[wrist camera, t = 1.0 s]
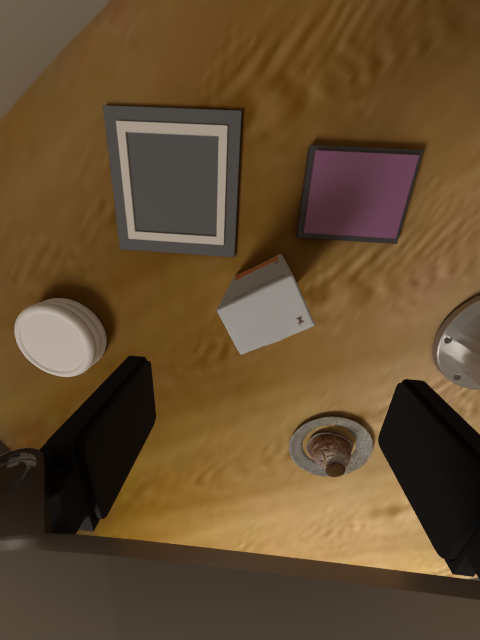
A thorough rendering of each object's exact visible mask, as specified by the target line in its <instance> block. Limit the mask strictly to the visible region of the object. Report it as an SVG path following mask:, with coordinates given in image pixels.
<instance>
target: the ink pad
mask: <svg viewBox="0 0 480 640" xmlns="http://www.w3.org/2000/svg"><path fill="white" fill-rule="evenodd" d="M423 151H424V150H407V149H386V148H364V147H342V146H320V145H310V146H309V148H308V154H307V161H306V168H305V176H304V183H303V190H302V198H301V205H300V213H299V220H298V227H297V235H296V237H299V238H315V239H330V240H346V241H361V242H377V243H392V244H397V242H398V238H399V235H400V231H401V228H402V224H403V221H404V217H405V214H406V210H407V207H408V203H409V200H410V196H411V193H412V189H413V186H414V182H415V179H416V175H417V172H418V168H419V165H420V161H421V158H422V154H423Z"/></svg>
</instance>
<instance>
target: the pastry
mask: <svg viewBox="0 0 480 640" xmlns="http://www.w3.org/2000/svg"><path fill="white" fill-rule="evenodd" d="M323 425H338V426H342V427H344V428H346V429H348V430H349V431H350V432H352V433H353V435H354V436H355V438H356V449H355V451H354V452H353V454H352V455H351V452H352V447H353V446H352V443H351V441H350V440H348V439H346V438H345V437H343V436H341V435H338V434H333V433H327V432H325V433H319V434H316V435H314V436H313V437H312V438H310V440H309V442H308V444H307V451H308V453H309V455H310V456H311V457H312V458H313V460H312V459H310V458H309V457H308V456H307V455H306V454H305V452H304V451H303V447H302V444H303V440H304V438H305V436H306V435H307V434H308V433H309V432H310V431H311V430H313V429H315V428H317V427H320V426H323ZM372 449H373V440H372V437H371V435H370V433H369V432H368V431H367V430H366V429H365V428H364V427H363V426H362V425H361V424H359V423H358V422H356V421H353V420H351V419H348V418H344V417H334V416H329V417H322V418H318V419H315V420H312V421H310V422H307V423H305V424H304V425H302V426H301V427H300V428H298V430H297V431H296V432H295V433H294V434H293V436H292V438H291V440H290V444H289V452H290V456H291V458H292V460H293V461H294V462H295V463H296V464H297V465H298V466H299V467H300V468H302V469H303V470H305V471H307V472H310V473H312V474H315V475H319V476H331V477H338V476H341V475H344V474H346V473H350V472H352V471H355V470H357V469H358V468H360V467H361V466H362V465H364V464H365V462H366V461H367V460H368V458H369V457H370V455H371V453H372Z"/></svg>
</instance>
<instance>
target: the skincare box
mask: <svg viewBox="0 0 480 640" xmlns="http://www.w3.org/2000/svg"><path fill="white" fill-rule="evenodd" d="M217 312H218V314H219V316H220V318H221V320H222V321H223V323H224V325H225V327H226V329H227V331H228V333H229V335H230V337H231V338H232V340H233V342H234V344H235V346H236V348H237V350H238V351H239V353H240V354H245V353H247V352H250V351H252V350H255V349H258V348H260V347H263V346H265V345H269V344H272V343H275V342H278V341H280V340H282V339H284V338H286V337H289V336H291V335H294V334H296V333H298V332H301V331H303V330H306V329H308V328H311V327H313V326H315V323H314V320H313V318H312V316H311V314H310V311H309V309H308V307H307V305H306V302H305V300H304V298H303V296H302V293H301V291H300V289H299V287H298V284H297V282H296V280H295V278H294V276H293V274H292V272H291V270H290V268H289V266H288V265H287V263H286V261H285V259H284V257H283V256H282V254H279V255H277V256H275V257H273V258H271V259H269V260H267V261H265V262H263V263H261V264H259V265H257V266H255V267H253V268H250V269H248V270H246V271H244V272H242V273H240V274H237V275H235V276H234V278H233V280H232V282H231V284H230V286H229V287H228V289H227V291H226V293H225V295H224V297H223V299H222V301H221V303H220V305H219V306H218V308H217Z"/></svg>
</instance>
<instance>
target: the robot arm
mask: <svg viewBox="0 0 480 640" xmlns="http://www.w3.org/2000/svg"><path fill="white" fill-rule="evenodd" d="M433 358H434V362H435V365H436V366H437V368H438V370H439V371H440V372H441V373H442V374H443V375H444V376H445V377H446V378H447V379H449V380H450V381H451V382H453V383H455V384H457V385H459V386H461V387H465V388H469V389H478V390H480V295H479V296H477V297H474V298H473V299H471V300H469V301H467V302H466V303H464V304H463V305H461V306H460V307H459V308H457V309H456V310H455V311H454V312H453V313H452V314H451V315H450V316H449V317H448V318H447V319H446V320H445V321H444V323H443V324H442V326H441V327H440V329H439V331H438V333H437V335H436V337H435V340H434V345H433ZM155 419H156V411H155V401H154V390H153V380H152V369H151V362H150V361H147V359H146V358H145V357H140V356H129V357H127V358H126V359H125V361H124V362H123V363H122V364H121V365H120V366H119V367H118V368H117V369H116V370H115V371H114V372H113V373H112V374H111V375H110V376H109V377H108V378H107V379H106V380H105V381H104V382H103V383H102V384H101V385H100V386H99V388H98V389H97V390H96V391H95V392H94V393H93V394H92V395H91V396H90V397H89V398H88V399H87V400H86V401H85V402H84V403H83V404H82V405H81V406H80V407H79V408H78V409H77V410H76V411H75V412H74V413H73V415H72V416H71V417H70V418H69V419H68V420H67V421H66V422H65V423H64V424H63V425H62V426H61V427H60V428H59V429H58V430H57V431H56V432H55V433H54V434H53V435H52V436H51V437H50V438H49V439H48V440H47V442H46V443H45V445H44V446H43V447H42V448H41V449H40V450H38V449H35V448H21V449H17V450H13V451H10V452H8V453H6V454H3V455H1V456H0V640H480V581H477V580H469V579H461V578H453V577H445V576H437V575H429V574H421V573H413V572H406V571H398V570H390V569H382V568H374V567H366V566H357V565H349V564H341V563H332V562H324V561H316V560H307V559H299V558H290V557H282V556H274V555H265V554H257V553H248V552H240V551H231V550H222V549H213V548H204V547H196V546H187V545H178V544H169V543H160V542H151V541H143V540H132V539H121V538H111V537H100V536H89V535H78V534H76V533H77V531H78V530H85V531H94V530H95V528H96V526H97V524H98V522H99V520H100V519H104V518H105V517H106V516H107V515H108V513H109V511H110V509H111V507H112V505H113V503H114V501H115V499H116V498H117V496H118V494H119V492H120V490H121V488H122V486H123V484H124V482H125V480H126V478H127V476H128V474H129V472H130V470H131V468H132V466H133V464H134V463H135V461H136V459H137V457H138V455H139V453H140V451H141V449H142V447H143V445H144V443H145V441H146V439H147V437H148V435H149V433H150V431H151V429H152V428H153V426H154V423H155ZM378 442H379V446H380V448H381V450H382V452H383V454H384V456H385V458H386V459H387V461H388V463H389V465H390V467H391V469H392V471H393V472H394V474H395V476H396V478H397V480H398V482H399V484H400V485H401V487H402V489H403V491H404V493H405V495H406V497H407V498H408V500H409V502H410V504H411V506H412V508H413V510H414V511H415V513H416V515H417V517H418V519H419V521H420V523H421V525H422V526H423V528H424V530H425V532H426V534H427V536H428V538H429V539H430V541H431V543H432V545H433V547H434V549H435V550H436V552H437V554H438V555H439V556H440V557H442V558H444V559H445V561H446V563H447V565H448V567H449V569H450V570H451V572H452V574H455V575H464V576H472V577H473V576H474V575H475V574H477V576H478V577H479V579H480V435H479V434H478V433H477V432H476V431H475V430H474V429H473V428H472V427H471V426H470V425H469V424H468V423H467V422H466V421H465V420H464V419H463V418H462V417H461V416H460V415H459V414H458V413H457V412H456V411H455V410H454V409H452V408H451V407H450V406H449V405H448V404H447V403H446V402H445V401H444V400H443V399H442V398H441V397H440V396H439V395H438V394H437V393H436V392H435V391H434V390H433V389H432V388H431V387H430V386H429V385H428V384H427V383H425V382H424V381H420V380H409V379H405V380H403V381H402V383H399V384H398V385H397V387H396V389H395V392H394V395H393V398H392V401H391V403H390V406H389V409H388V412H387V415H386V417H385V420H384V423H383V426H382V428H381V431H380V434H379V437H378Z"/></svg>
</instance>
